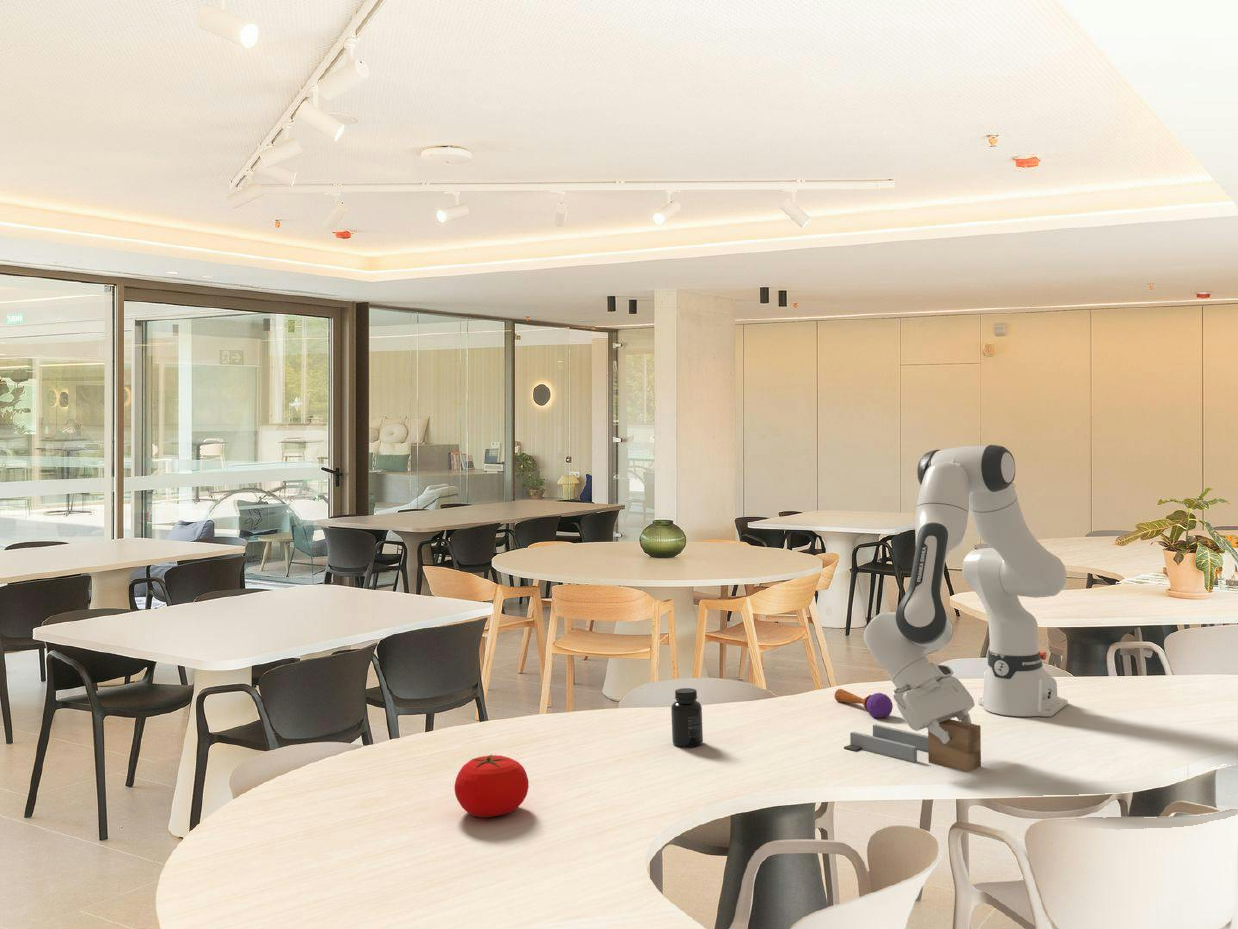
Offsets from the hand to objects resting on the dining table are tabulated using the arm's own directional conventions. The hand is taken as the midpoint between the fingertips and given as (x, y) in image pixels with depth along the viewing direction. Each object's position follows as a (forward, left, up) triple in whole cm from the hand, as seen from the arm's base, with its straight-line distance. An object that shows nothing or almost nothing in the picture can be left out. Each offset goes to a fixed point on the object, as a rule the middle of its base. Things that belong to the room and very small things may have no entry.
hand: (960, 737), depth 221 cm
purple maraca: (-22, -40, -6) cm, 46 cm away
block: (0, -1, -6) cm, 6 cm away
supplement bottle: (+28, -51, -6) cm, 59 cm away
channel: (0, -16, -6) cm, 17 cm away
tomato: (+84, -46, -6) cm, 96 cm away
